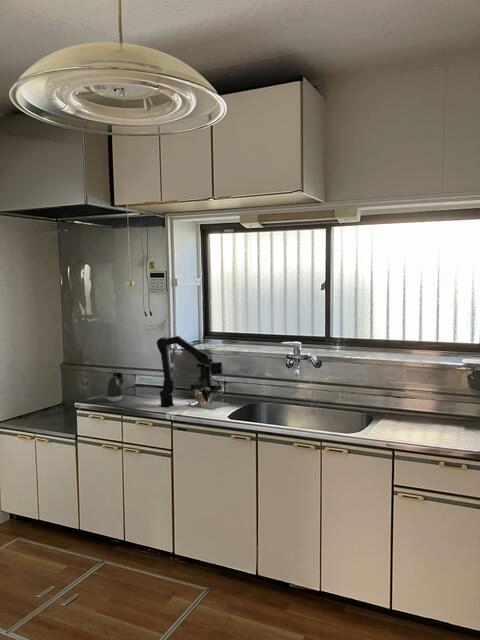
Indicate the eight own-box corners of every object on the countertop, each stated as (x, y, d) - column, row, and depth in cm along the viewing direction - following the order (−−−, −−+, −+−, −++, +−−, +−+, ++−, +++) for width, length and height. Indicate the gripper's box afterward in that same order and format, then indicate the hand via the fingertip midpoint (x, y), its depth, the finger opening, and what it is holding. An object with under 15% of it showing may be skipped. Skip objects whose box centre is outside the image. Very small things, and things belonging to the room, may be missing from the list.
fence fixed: (196, 401, 329) (196, 392, 328) (198, 400, 330) (198, 391, 330) (210, 403, 323) (210, 394, 323) (212, 402, 325) (212, 393, 324)
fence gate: (208, 401, 324) (207, 393, 323) (210, 402, 323) (210, 394, 323) (197, 405, 314) (197, 397, 313) (200, 406, 313) (200, 397, 313)
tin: (194, 399, 336) (194, 385, 336) (190, 398, 338) (190, 385, 338) (210, 395, 348) (210, 382, 348) (206, 394, 350) (206, 381, 350)
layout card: (185, 405, 319) (185, 404, 319) (202, 400, 333) (202, 399, 333) (213, 409, 308) (213, 408, 308) (229, 404, 322) (229, 403, 322)
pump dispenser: (121, 402, 329) (120, 377, 328) (103, 402, 329) (103, 377, 328) (125, 399, 339) (124, 374, 338) (108, 399, 339) (107, 374, 338)
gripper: (183, 376, 314) (185, 403, 315) (208, 377, 303) (210, 405, 304) (195, 373, 323) (197, 399, 324) (221, 374, 312) (222, 401, 313)
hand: (206, 401), depth 316 cm, fingers closed
